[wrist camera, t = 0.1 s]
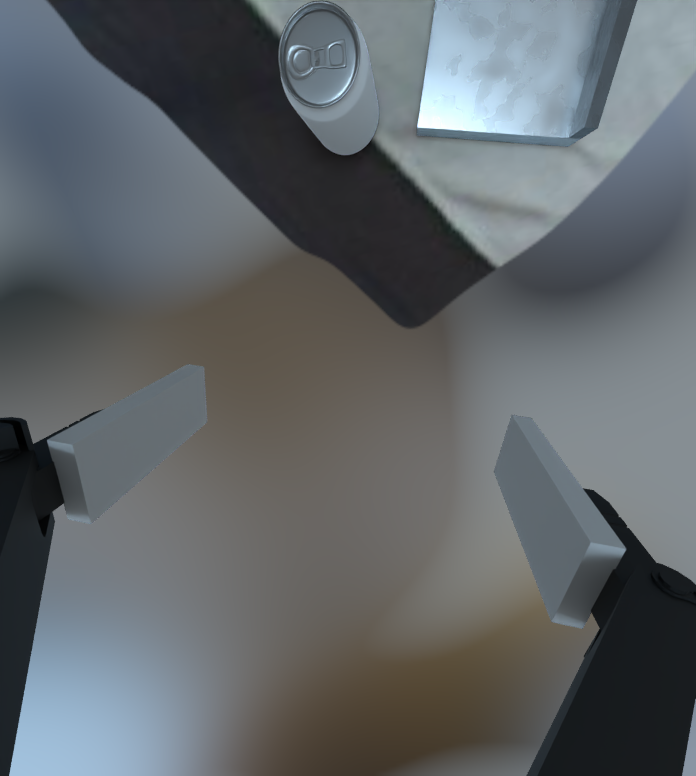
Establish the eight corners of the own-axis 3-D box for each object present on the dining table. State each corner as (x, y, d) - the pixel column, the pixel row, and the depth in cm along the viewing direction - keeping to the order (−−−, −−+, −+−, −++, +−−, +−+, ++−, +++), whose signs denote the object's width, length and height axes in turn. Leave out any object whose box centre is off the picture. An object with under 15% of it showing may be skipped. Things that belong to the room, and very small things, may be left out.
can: (310, 82, 34) (264, 2, 23) (377, 70, 33) (363, -20, 22) (318, 160, 36) (279, 121, 25) (381, 152, 35) (369, 107, 24)
